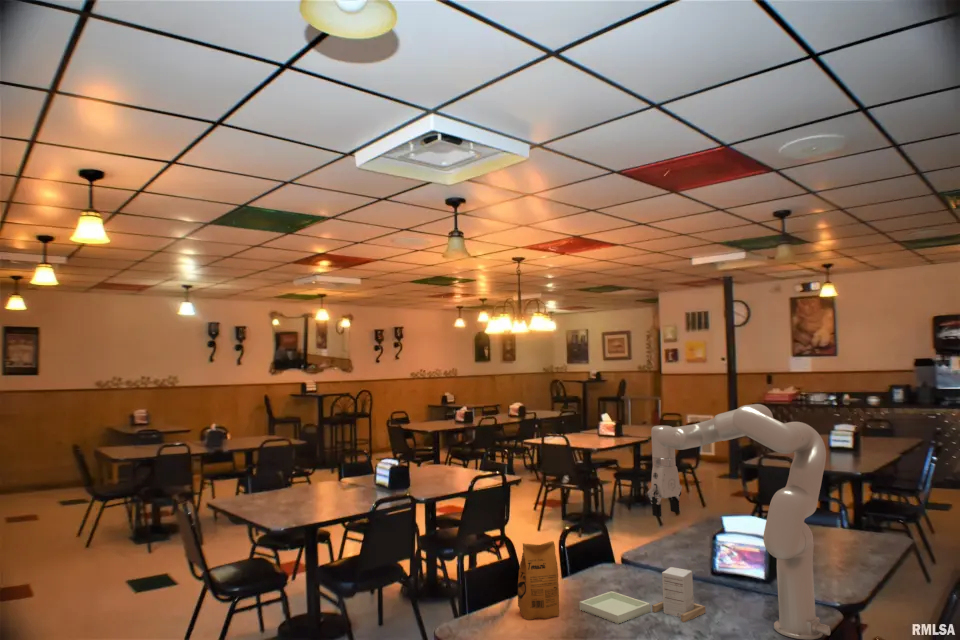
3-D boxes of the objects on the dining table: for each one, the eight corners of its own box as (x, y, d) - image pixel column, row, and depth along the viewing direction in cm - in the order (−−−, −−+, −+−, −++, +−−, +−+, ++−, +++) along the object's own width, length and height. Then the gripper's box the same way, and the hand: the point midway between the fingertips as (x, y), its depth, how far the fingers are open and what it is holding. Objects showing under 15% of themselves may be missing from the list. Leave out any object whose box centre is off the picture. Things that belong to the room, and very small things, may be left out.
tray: (650, 611, 201) (650, 603, 201) (618, 624, 191) (618, 615, 191) (611, 598, 213) (611, 591, 213) (579, 610, 203) (579, 601, 204)
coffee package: (515, 610, 204) (514, 539, 206) (552, 606, 207) (550, 537, 209) (523, 621, 195) (521, 547, 197) (562, 618, 197) (560, 545, 199)
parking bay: (705, 613, 199) (705, 606, 199) (684, 622, 192) (683, 615, 192) (674, 603, 208) (673, 596, 208) (652, 611, 201) (652, 605, 201)
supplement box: (672, 606, 205) (670, 566, 206) (694, 611, 200) (693, 570, 202) (662, 613, 199) (661, 571, 200) (685, 618, 195) (684, 576, 196)
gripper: (656, 466, 208) (659, 519, 207) (688, 461, 219) (691, 512, 217) (638, 463, 214) (640, 515, 213) (670, 459, 224) (672, 508, 223)
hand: (666, 513), depth 215 cm, fingers open, 9 cm apart
